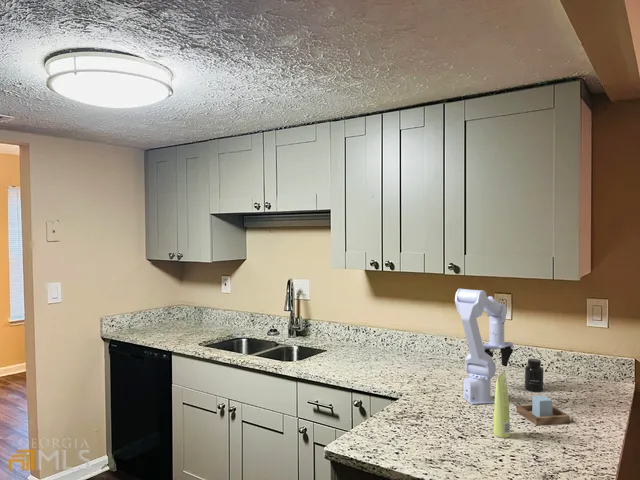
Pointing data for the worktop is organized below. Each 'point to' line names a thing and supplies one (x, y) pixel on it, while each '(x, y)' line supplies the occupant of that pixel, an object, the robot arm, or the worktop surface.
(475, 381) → the robot arm
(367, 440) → the worktop surface
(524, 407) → the tray
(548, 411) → the block
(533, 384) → the supplement bottle
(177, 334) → the worktop surface
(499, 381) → the tube
